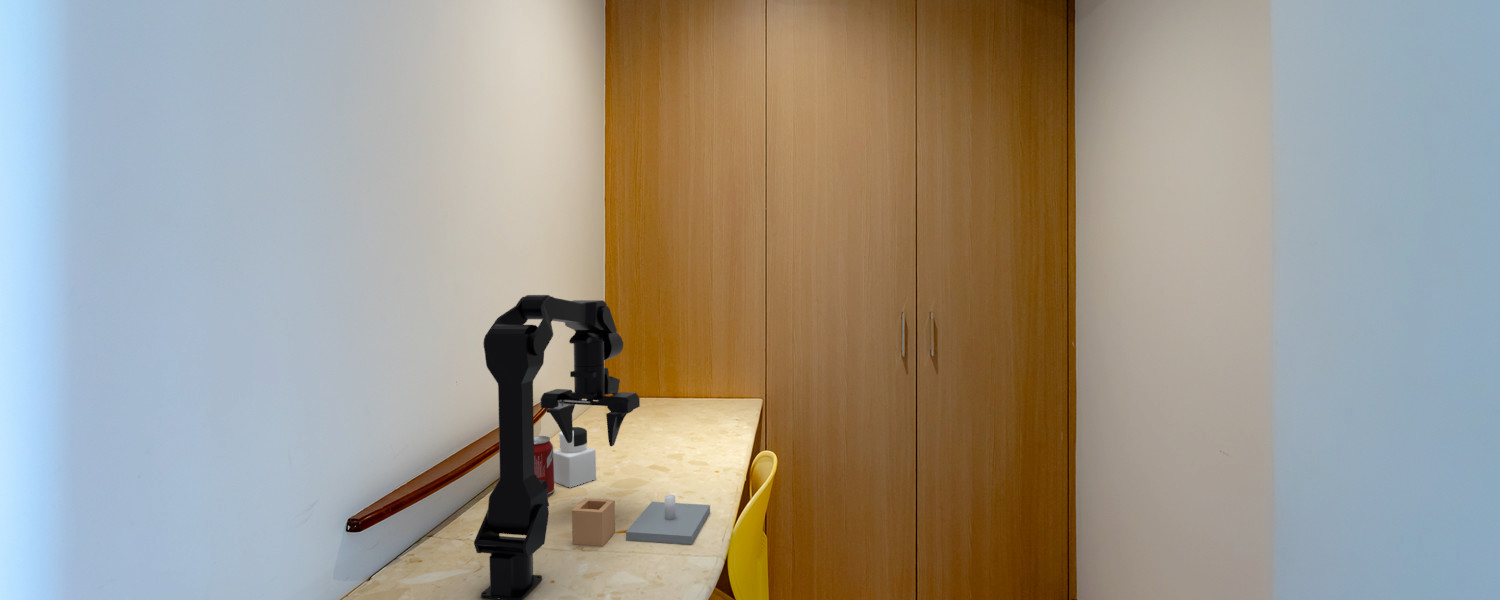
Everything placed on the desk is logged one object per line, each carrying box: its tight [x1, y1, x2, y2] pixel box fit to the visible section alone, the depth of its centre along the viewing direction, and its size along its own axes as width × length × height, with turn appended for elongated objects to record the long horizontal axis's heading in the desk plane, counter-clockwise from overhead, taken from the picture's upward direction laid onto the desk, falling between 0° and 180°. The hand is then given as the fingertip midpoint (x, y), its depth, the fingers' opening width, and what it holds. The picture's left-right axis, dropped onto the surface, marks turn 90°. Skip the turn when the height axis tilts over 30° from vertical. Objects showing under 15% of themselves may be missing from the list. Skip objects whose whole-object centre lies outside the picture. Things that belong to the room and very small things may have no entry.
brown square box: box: [571, 497, 616, 547], centre depth 106 cm, size 6×6×6 cm
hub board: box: [625, 494, 711, 546], centre depth 111 cm, size 14×12×6 cm
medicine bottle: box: [553, 426, 597, 489], centre depth 135 cm, size 7×7×12 cm
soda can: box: [534, 435, 555, 496], centre depth 127 cm, size 7×7×12 cm
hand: (590, 444), depth 116 cm, fingers open, 9 cm apart
